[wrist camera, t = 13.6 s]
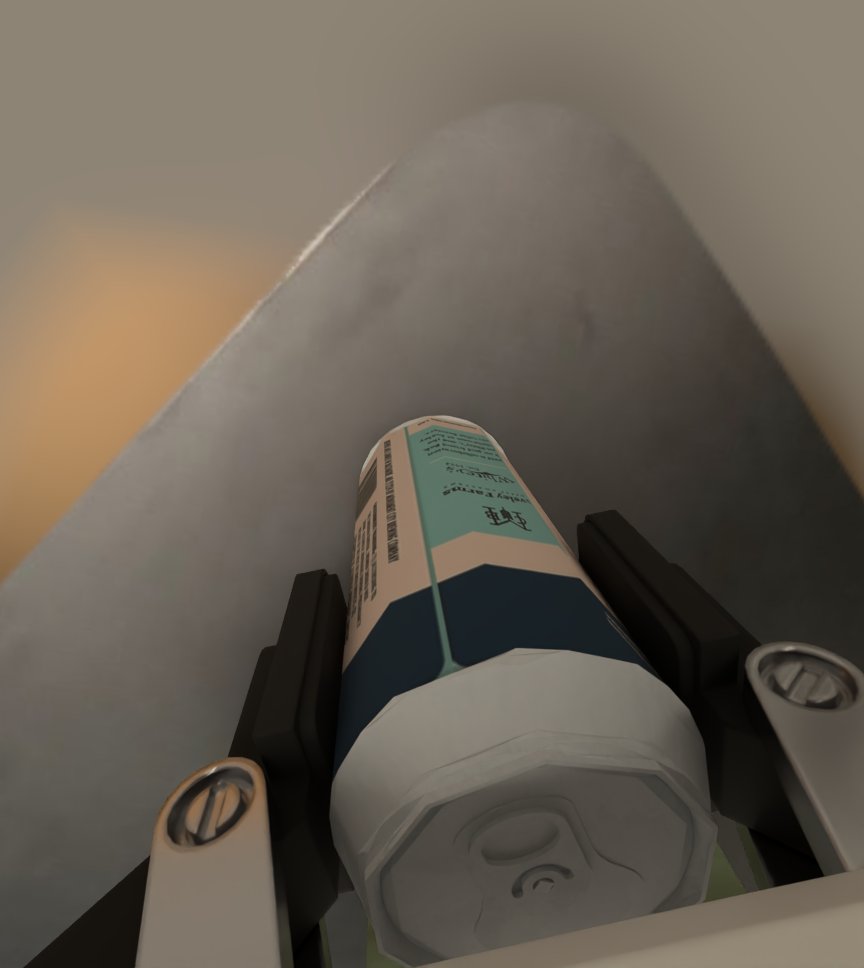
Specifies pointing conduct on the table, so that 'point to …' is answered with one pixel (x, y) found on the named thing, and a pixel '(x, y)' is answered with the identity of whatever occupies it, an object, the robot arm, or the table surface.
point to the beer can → (498, 720)
